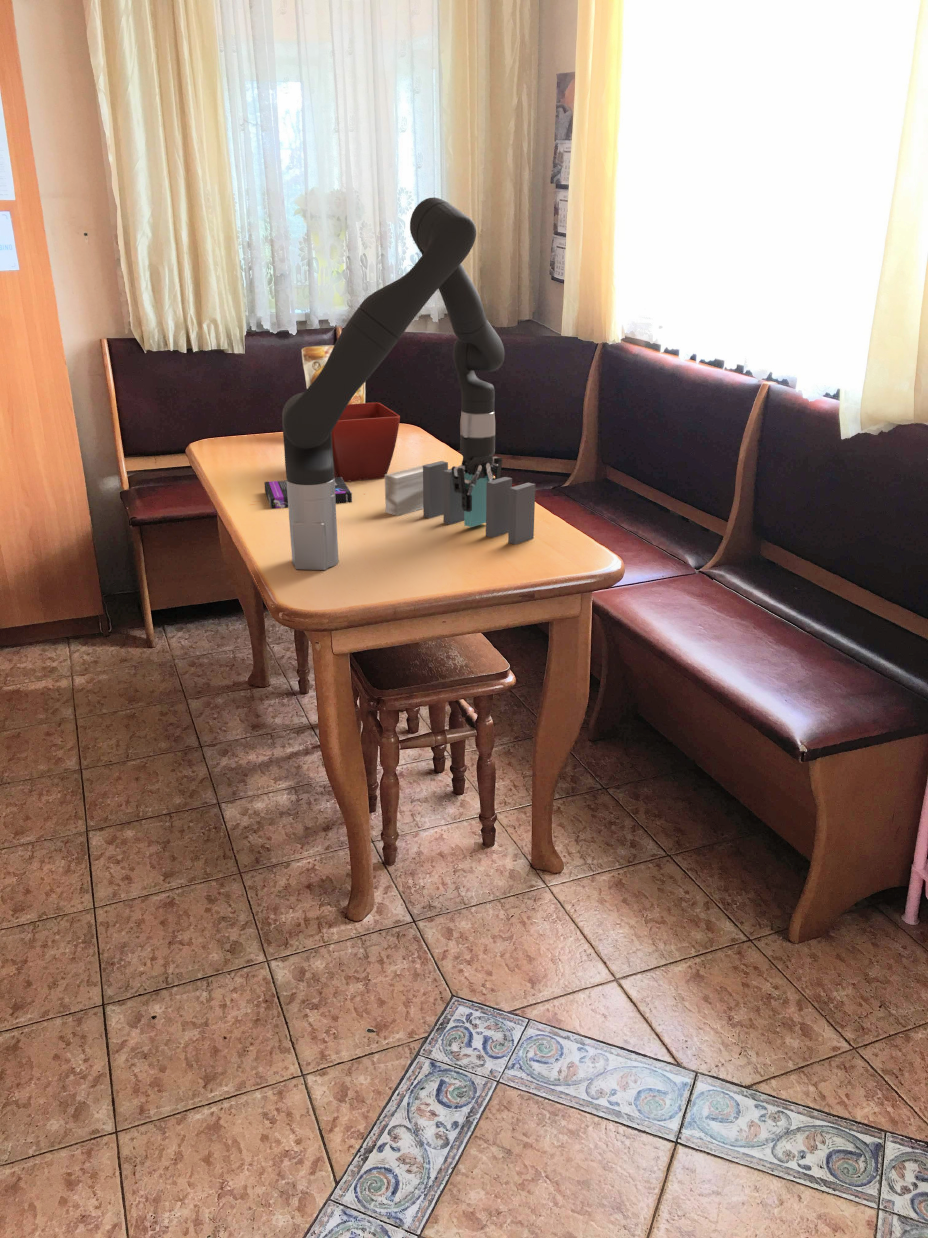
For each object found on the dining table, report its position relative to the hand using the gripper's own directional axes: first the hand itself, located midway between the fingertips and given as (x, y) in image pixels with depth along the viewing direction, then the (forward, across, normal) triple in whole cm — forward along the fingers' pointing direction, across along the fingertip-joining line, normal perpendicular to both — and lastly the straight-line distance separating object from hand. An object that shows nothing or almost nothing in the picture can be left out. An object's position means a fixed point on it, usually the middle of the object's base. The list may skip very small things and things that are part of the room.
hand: (476, 507), depth 214 cm
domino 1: (+5, 0, -13) cm, 14 cm away
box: (+5, +12, -45) cm, 47 cm away
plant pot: (+5, -10, -53) cm, 54 cm away
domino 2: (+5, 0, -6) cm, 8 cm away
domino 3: (+4, 0, 0) cm, 4 cm away
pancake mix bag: (+5, -31, -86) cm, 91 cm away
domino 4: (+5, 0, +6) cm, 8 cm away
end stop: (+5, 0, -20) cm, 21 cm away
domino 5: (+5, 0, +13) cm, 14 cm away
